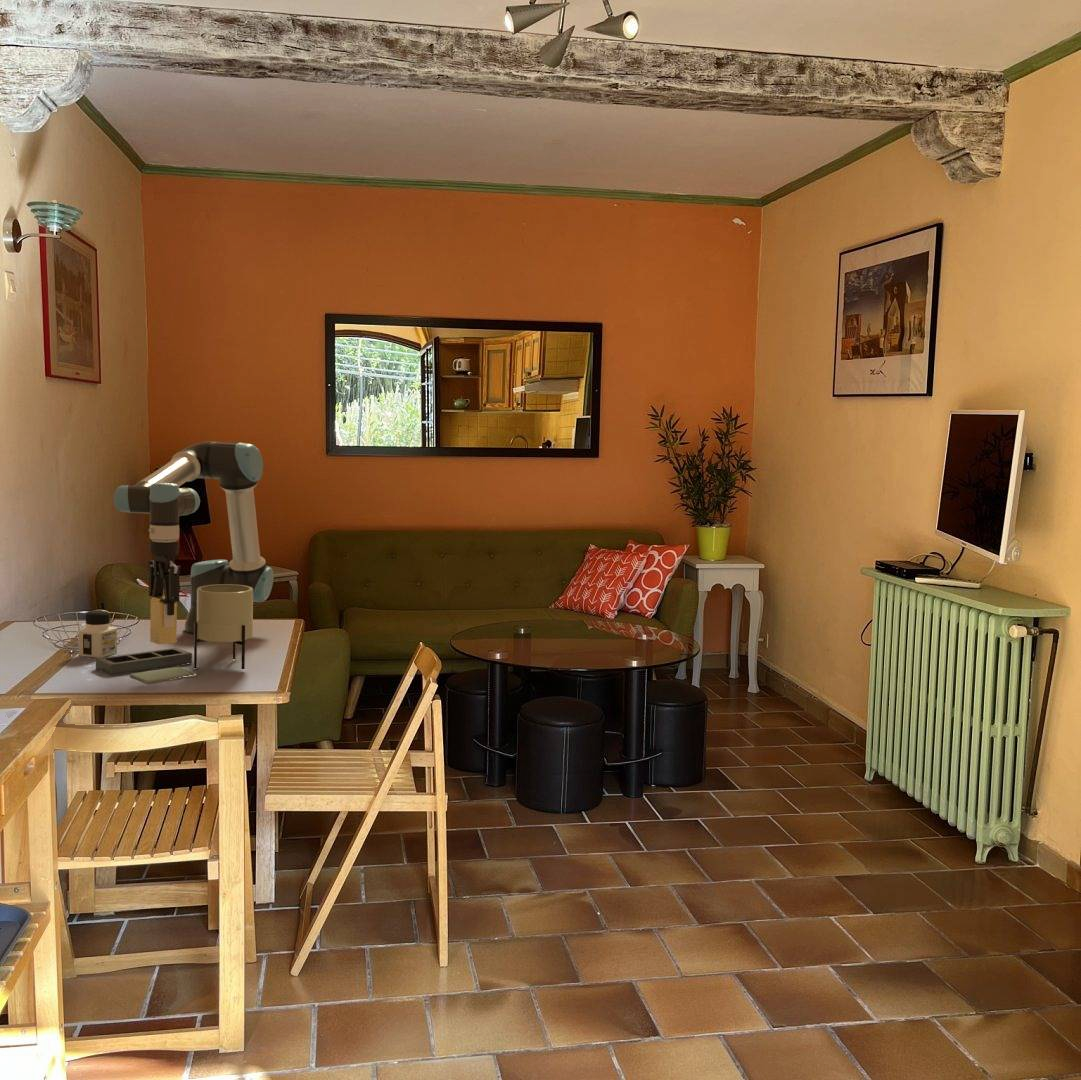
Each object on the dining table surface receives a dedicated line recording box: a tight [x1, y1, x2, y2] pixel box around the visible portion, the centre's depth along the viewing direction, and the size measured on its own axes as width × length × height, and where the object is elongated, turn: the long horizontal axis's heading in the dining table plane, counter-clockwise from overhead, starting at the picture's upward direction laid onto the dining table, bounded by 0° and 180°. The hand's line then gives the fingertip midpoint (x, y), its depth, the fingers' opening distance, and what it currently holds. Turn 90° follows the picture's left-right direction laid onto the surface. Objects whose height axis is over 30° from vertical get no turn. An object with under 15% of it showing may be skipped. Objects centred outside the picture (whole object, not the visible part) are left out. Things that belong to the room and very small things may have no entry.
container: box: [78, 609, 118, 659], centre depth 310 cm, size 8×8×13 cm
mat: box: [130, 666, 197, 684], centre depth 289 cm, size 14×10×1 cm
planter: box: [193, 584, 254, 670], centre depth 301 cm, size 15×16×23 cm
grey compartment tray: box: [95, 647, 193, 677], centre depth 299 cm, size 24×9×3 cm, turn 137°
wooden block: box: [149, 595, 178, 645], centre depth 288 cm, size 5×5×12 cm
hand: (163, 624), depth 288 cm, fingers closed on wooden block, 5 cm apart
